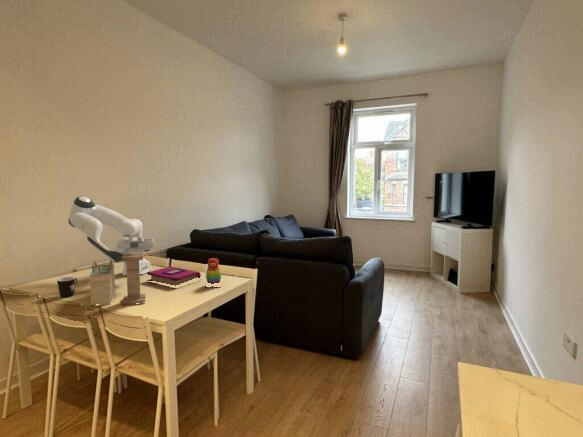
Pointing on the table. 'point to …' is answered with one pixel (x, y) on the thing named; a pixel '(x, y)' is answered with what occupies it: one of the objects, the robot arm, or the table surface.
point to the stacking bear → (213, 271)
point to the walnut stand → (133, 279)
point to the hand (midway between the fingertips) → (135, 238)
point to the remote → (134, 242)
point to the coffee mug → (66, 286)
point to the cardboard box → (102, 284)
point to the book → (173, 275)
